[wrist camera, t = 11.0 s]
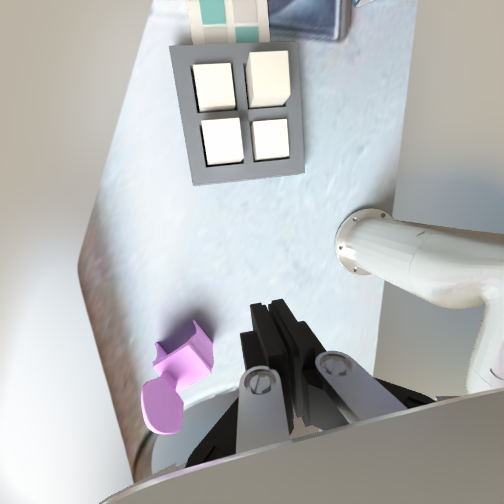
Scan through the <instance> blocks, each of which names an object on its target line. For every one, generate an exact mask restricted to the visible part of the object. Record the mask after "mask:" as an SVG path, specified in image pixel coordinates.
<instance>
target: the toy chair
mask: <svg viewBox="0 0 504 504" xmlns="http://www.w3.org/2000/svg"><path fill="white" fill-rule="evenodd" d="M192 321H193V323H194V325H195V327H196V334H195V335H194V336H192V337H191V338H190V339H189V340H188V341H187V342H186V343H185V344H184V345H182V346H181V347H179V348H178V349H176V350H175V351H173V352H172V353H170V354H167V353H166V352H165V351H164V350H163V349H162V348H161V346H160V345H159V344H158V343H155V345H156V349H157V358H156V359H155V360H154V361H153V368H154V370H155V371H156V372H157V373H158V374H159V375H160V377H158V378H156V379H153V380H150V381H148V382H146V383H145V384H144V385H143V387H142V391H141V404H142V411H143V416H144V420H145V423H146V425H147V427H148V428H149V429H150V430H151V431H153V432H155V433H159V434H173V433H177V432H179V431H180V430H181V428H182V424H183V404H184V403H183V401H182V399H181V398H180V396H179V395H178V394H179V393H180V392H182V391H183V390H185V389H186V388H188V387H189V386H191V385H192V384H194V383H195V382H197V381H199V380H200V379H202V378H204V377H206V376H207V375H209V374H211V369H212V367H213V364H214V360H213V350H212V346H213V343H212V342H211V340H210V339H209V338H208V337H207V335H206V334H205V333H204V331H203V330H202V329H201V328H200V326H199V325H198V324H197V323H196V321H195V320H192Z"/></svg>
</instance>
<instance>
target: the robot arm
mask: <svg viewBox="0 0 504 504" xmlns="http://www.w3.org/2000/svg"><path fill="white" fill-rule="evenodd" d="M339 246H340V247H339ZM335 254H336V257H337V260H338V261H339V263H340V265H341V266H342V267H343V268H344V269H346V270H348V271H349V272H351V273H353V274H357V275H369V274H374V275H376V276H378V277H380V278H382V279H384V280H386V281H388V282H390V283H392V284H394V285H396V286H398V287H400V288H402V289H404V290H406V291H408V292H410V293H412V294H414V295H416V296H418V297H420V298H422V299H424V300H426V301H428V302H430V303H433V304H435V305H438V306H442V307H447V308H469V307H476V306H480V305H485V311H484V315H483V319H482V325H481V328H480V331H479V334H478V336H477V340H476V342H475V345H474V348H473V351H472V354H471V357H470V361H469V364H468V368H467V372H466V378H465V382H466V389H467V392H468V395H464V396H436V397H435V400H433V399H431V398H430V397H428V396H426V395H423V394H421V393H418V392H415V391H412V390H409V389H406V388H404V387H401V386H397V385H395V384H391V383H389V382H386V381H383V380H380V379H377V378H374V377H372V376H371V375H370V374H369V373H368V372H367V371H366V370H365V369H363V368H362V367H361V366H360V365H359V364H358V363H357V362H356V361H355V360H353V359H352V358H351V357H350V356H348V355H347V354H344V353H342V352H338V351H326V350H325V348H324V347H323V346H322V344H321V343H320V341H319V340H318V339H317V337H316V336H315V334H314V333H313V332H312V330H311V329H310V328H309V326H308V325H307V323H306V322H305V321H300V322H298V321H297V320H296V318H295V317H294V315H293V314H292V312H291V311H290V309H289V308H288V306H287V305H286V303H285V302H284V300H283V299H278V300H273V301H272V304H268V309H269V311H268V309H267V307H266V305H262V304H261V303H256V304H251V305H250V309H251V317H252V325H253V331H249V332H244V333H240V338H241V345H242V352H243V358H244V364H245V370H246V372H245V373H244V374H243V375H242V377H241V379H240V385H239V397H238V398H237V399H236V400H235V402H234V403H233V404H232V405H231V406H230V408H229V409H228V410H227V412H225V414H224V415H223V416H222V417H221V418H220V420H219V421H218V422H217V423H216V424H215V426H214V427H213V428H212V429H211V430H210V431H209V433H208V434H207V435H206V436H205V437H204V439H203V440H202V441H201V442H200V444H199V445H198V446H197V447H196V448H195V449H194V451H193V452H192V454H191V455H190V457H189V458H188V461H187V462H186V463H184V464H182V465H180V466H177V463H175V464H173V465H171V466H169V467H167V468H165V469H163V470H161V471H159V472H157V473H155V474H153V475H151V476H149V477H147V478H145V479H143V480H141V481H139V482H137V483H135V484H133V485H131V486H129V487H127V488H125V489H124V490H121V491H119V492H117V493H115V494H113V495H111V496H110V497H108V498H106V499H105V500H103V501H102V502H100V503H99V504H504V234H499V233H489V232H479V231H471V230H463V229H456V228H449V227H442V226H434V225H427V224H419V223H412V222H405V221H398V220H394V219H393V217H392V216H391V215H390V214H388V213H387V212H385V211H383V210H380V209H374V208H367V209H362V210H359V211H356V212H355V213H353V214H351V215H350V216H349V217H348V218H346V220H345V221H344V222H343V223H342V224H341V226H340V228H339V229H338V232H337V235H336V238H335ZM293 408H294V410H295V413H296V416H297V417H298V418H299V417H302V419H303V422H304V424H305V426H310V425H314V426H315V427H318V428H319V432H317V433H314V434H310V435H306V436H302V437H298V438H295V439H291V440H290V434H291V433H292V430H293V429H294V424H293V419H294V414H293Z"/></svg>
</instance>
